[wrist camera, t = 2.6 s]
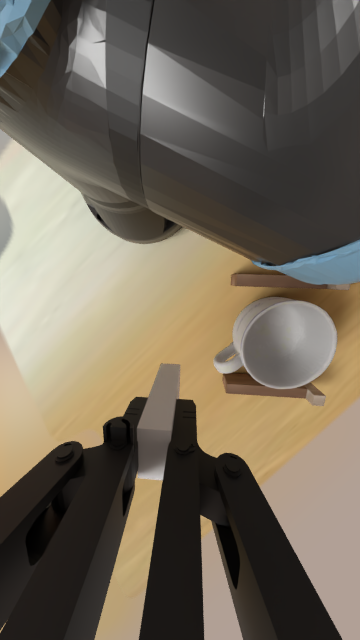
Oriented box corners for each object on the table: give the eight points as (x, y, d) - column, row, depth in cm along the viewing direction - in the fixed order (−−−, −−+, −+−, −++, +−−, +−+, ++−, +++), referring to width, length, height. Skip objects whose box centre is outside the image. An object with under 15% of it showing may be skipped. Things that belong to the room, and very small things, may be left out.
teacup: (296, 287, 27) (337, 290, 19) (303, 356, 29) (343, 383, 21) (201, 307, 29) (204, 318, 21) (214, 371, 31) (222, 402, 23)
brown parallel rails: (231, 274, 27) (240, 273, 22) (322, 277, 27) (351, 276, 22) (222, 380, 31) (228, 399, 26) (302, 385, 30) (323, 406, 25)
